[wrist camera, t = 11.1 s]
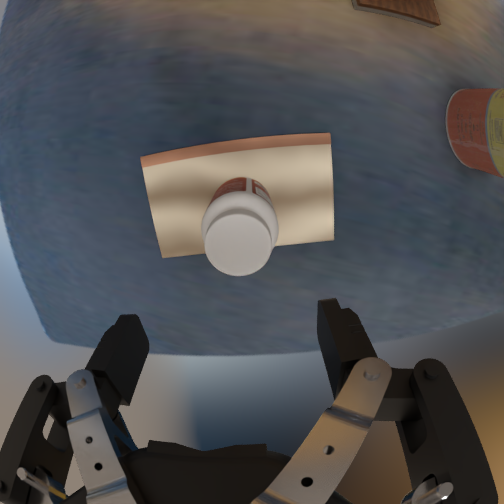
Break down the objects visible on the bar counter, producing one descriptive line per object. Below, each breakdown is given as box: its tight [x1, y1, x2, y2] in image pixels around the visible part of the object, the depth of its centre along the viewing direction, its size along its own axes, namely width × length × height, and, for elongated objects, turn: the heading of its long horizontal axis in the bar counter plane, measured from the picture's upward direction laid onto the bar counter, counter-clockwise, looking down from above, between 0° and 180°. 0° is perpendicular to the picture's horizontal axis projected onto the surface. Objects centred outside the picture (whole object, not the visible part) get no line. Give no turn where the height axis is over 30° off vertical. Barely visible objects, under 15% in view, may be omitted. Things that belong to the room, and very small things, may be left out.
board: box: [140, 133, 334, 258], centre depth 29 cm, size 12×20×1 cm, turn 96°
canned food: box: [445, 89, 504, 178], centre depth 19 cm, size 11×11×12 cm
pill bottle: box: [201, 177, 279, 276], centre depth 24 cm, size 6×6×11 cm
